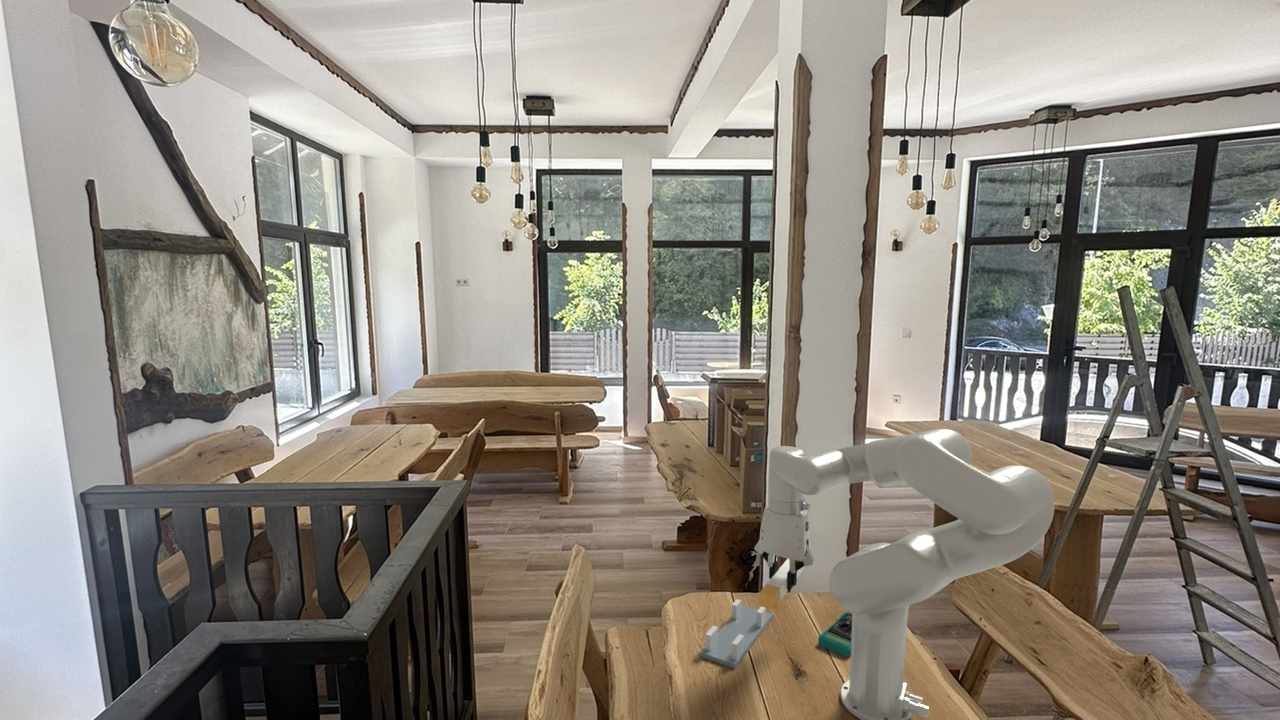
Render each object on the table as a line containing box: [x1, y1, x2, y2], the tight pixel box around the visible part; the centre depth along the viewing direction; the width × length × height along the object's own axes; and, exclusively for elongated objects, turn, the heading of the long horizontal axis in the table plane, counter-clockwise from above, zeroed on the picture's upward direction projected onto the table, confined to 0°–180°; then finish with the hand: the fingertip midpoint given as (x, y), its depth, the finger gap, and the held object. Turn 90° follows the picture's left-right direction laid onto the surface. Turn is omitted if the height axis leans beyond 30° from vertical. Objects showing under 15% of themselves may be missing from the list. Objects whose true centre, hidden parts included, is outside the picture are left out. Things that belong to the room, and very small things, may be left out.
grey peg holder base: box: [700, 598, 774, 670], centre depth 134 cm, size 8×23×4 cm, turn 148°
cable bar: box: [758, 558, 804, 611], centre depth 128 cm, size 3×20×3 cm, turn 147°
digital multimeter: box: [817, 611, 853, 658], centre depth 134 cm, size 7×15×3 cm, turn 137°
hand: (782, 584), depth 128 cm, fingers closed on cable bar, 3 cm apart
